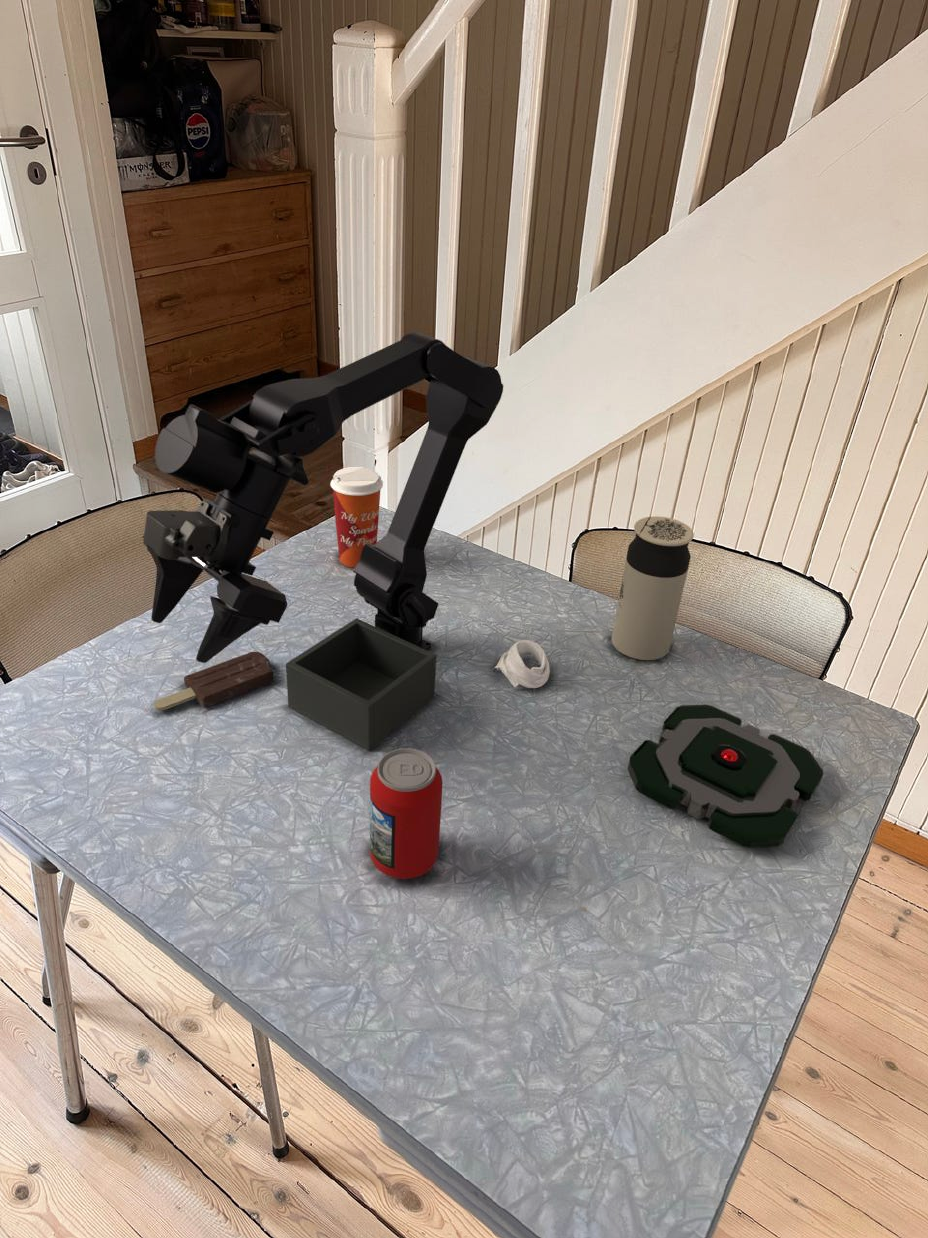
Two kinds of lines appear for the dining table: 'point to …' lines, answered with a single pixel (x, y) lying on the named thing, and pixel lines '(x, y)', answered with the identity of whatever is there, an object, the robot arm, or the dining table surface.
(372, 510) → the paper cup
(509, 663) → the white bandage roll
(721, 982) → the dining table surface
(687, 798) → the clover-shaped pad
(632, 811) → the dining table surface
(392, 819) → the beverage can
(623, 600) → the travel mug
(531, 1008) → the dining table surface
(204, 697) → the ice cream bar
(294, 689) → the trash bin
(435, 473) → the robot arm
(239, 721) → the dining table surface
